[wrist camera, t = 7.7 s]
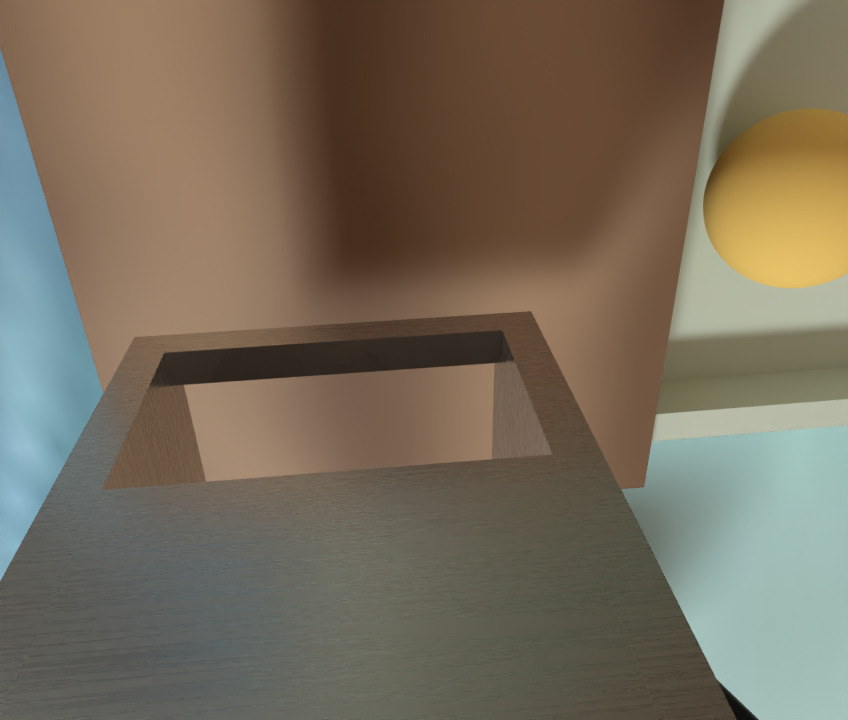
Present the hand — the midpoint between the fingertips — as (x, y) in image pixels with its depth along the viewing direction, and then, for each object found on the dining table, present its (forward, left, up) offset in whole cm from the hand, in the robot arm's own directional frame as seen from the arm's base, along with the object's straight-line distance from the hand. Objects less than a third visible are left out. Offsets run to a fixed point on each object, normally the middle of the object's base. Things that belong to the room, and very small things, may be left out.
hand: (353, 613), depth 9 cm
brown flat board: (-1, -3, -9) cm, 10 cm away
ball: (-10, -3, -8) cm, 13 cm away
